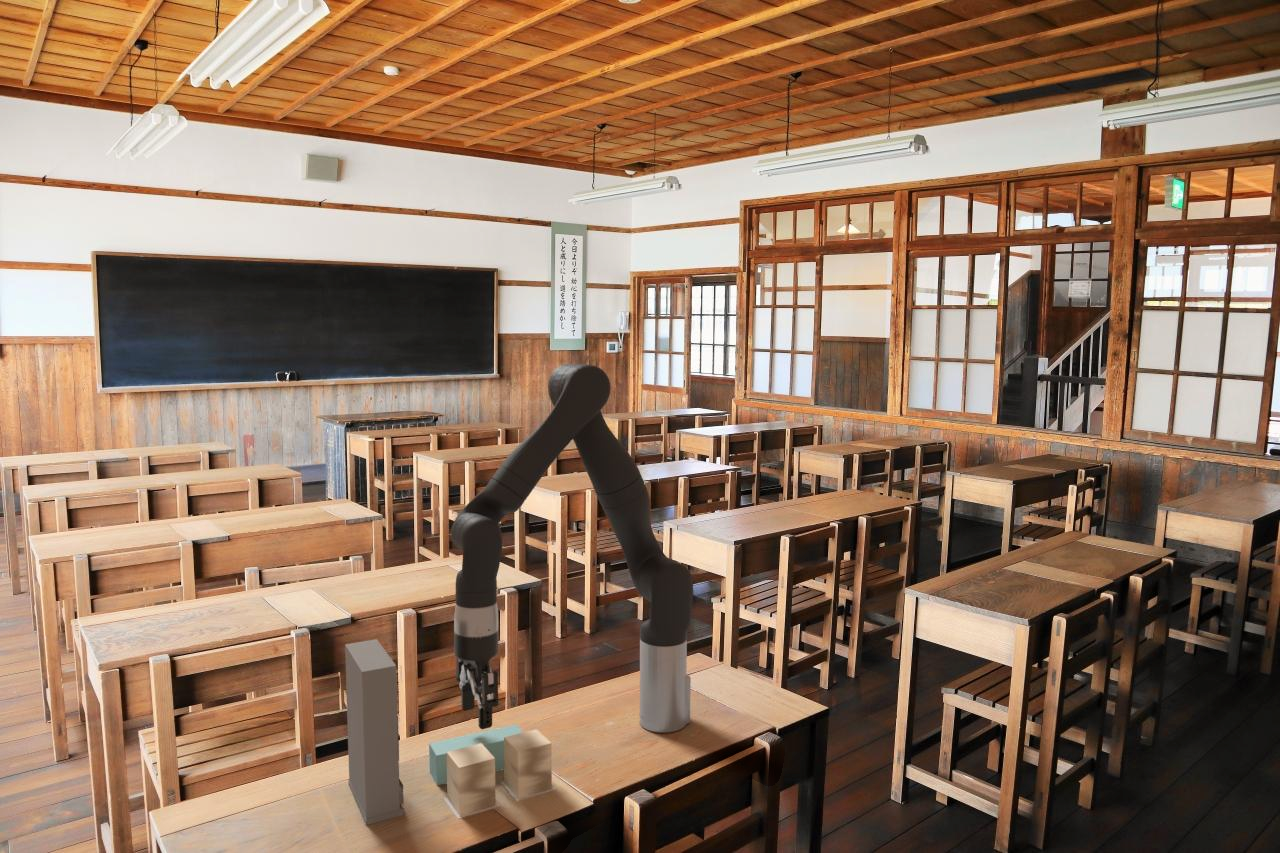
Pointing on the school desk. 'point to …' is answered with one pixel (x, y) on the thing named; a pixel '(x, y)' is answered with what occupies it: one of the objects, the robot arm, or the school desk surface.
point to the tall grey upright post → (373, 731)
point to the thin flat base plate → (496, 802)
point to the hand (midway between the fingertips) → (476, 718)
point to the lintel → (488, 738)
